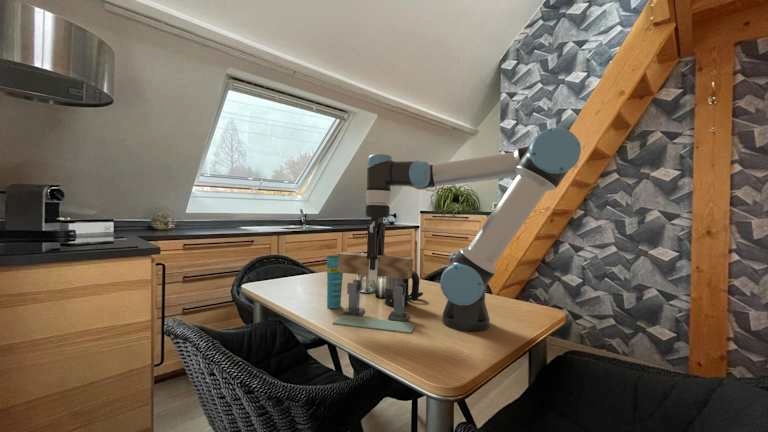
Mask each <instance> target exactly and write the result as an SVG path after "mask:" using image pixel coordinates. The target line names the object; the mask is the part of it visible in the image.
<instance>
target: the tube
mask: <svg viewBox="0 0 768 432" xmlns="http://www.w3.org/2000/svg"><path fill="white" fill-rule="evenodd" d="M338 263H339V254H335V255H326V278H327V280H326V281H327V283H326V285H327V290H326V293H327V294H326V295H327V296H326V297H327V298H326V307H327V308H328V309H340V308H341V303H342V291H343V277H344V276H343V275H344V273H339V272H338Z"/></svg>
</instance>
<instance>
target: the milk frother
mask: <svg viewBox="0 0 768 432" xmlns="http://www.w3.org/2000/svg"><path fill="white" fill-rule="evenodd" d="M409 281H410V279H403V278H392V277H385V299H384V305H386V306H389V307H394V299H393V287H397V283H403V284H406V293H405V296H404V307H406V306H408V305H409V301H412V302H416V301H417V300H418V299H419V298H420V297H422V296H423V295H424V292H423V291H422V292H421V291H420V290H419V289H420V288H419V287H420V276H419V275H418V273H417V272H415V271H414V270H412V277H411V283H412V284H411V285H412V286H411V292H410V294H409Z"/></svg>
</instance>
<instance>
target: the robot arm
mask: <svg viewBox="0 0 768 432" xmlns="http://www.w3.org/2000/svg"><path fill="white" fill-rule="evenodd" d="M581 153H582V146H581V142H580V140H579V138H578V137H577V136H576V134H574V133H573V132H571V130H568V129H567V128H562V127H553V128H548V129H545V130H543V131H541V132H539V133H538V134H537V135H535V137H534V138H533V139H532V140H531V142H530V145H527V146H523V147H518V148H516V149H514V151H513V152H507V153H502V154H501V153H500V154H495V155H488V156H486V155H485V156H481V157H475V158H474V157H473V158H467V159H466V158H465V159H461V160H453V161H447V162H442V163H441V162H440V163H434V164H430V163H429V162H428V161H420V160H415V161H414V160H413V161H411V160H409V161H394V160H393V159H392V158H393V157H392V156H391V155H390V154H384V153H383V154H381V153H374V154H371V155H369V156H368V159H367V167H366V193H365V194H364V196H365V197H366V199H365V202H366V203H367V204H366V206H365V216H366V217H369V218H370V223H369V224H368V225H367V226H366V230H367V231H366V232H367V243H366V244H367V248H366V254H367V257H366V259H369V274H368V275H367V276H368V277H367V279H368V281H375V282H376V281H378V278H382V277H381V276H378V259H377V255H386V254H384V253H385V239H386V238H385V237H386V236H385V235H386V234H385V233H386V228H387V225H386V224H385V222H384V218H390V213H391V212H390V206H389V204H391V186H392V187H410V188H414V189H416V190H420V191H421V190H422V191H423V190H426V189H428V188H436V187H437V188H438V187H443V186H444V187H445V186H452V185H453V186H454V185H460V184H467V183H468V184H469V183H476V182H484V181H491V180H492V181H493V180H498V179H499V180H500V179H507V178H508V179H509V178H514V179H513V181H512V182H511V184H510V185H509V186H508V187H507V190H506V191H505V192H504V194H503V195H502V197H501V198H500V200H499V201H498V203H496V205H495V207H494V209H493V210H492V212H491V213H490V214H489V216H488V217H487V219H486V220H485V222H484V223H483V224H482V226H481V227H480V228H479V231H478V232H477V233H476V235H475V236H474V238H473V239H472V241H471V242H470V244H469V245H468V246H467V247H461V248H459V250H458V251H457V252H451V253H450V255H449V260H448V262H449V265H448V266H447V267H446V268H445V269H443V271H442V274H441V277H440V280H439V281H440V289H441V292H442V294H443V296H444V297H445V298H446V299H447V300H446V304H445V307H444V308H443V311H442V316H441V321H442V323H443V324H444V325H445V326H447V327H449V328H452V329H454V330H455V329H456V330H460V331H466V332H468V331H469V332H480V331H481V332H482V331H485V330H488V329H489V328H490V326H491V325H490V324H491V323H490V322H491V319H490V315H489V312H488V308H487V304H486V287H487V286H488V284H489V282H491V280H492V278H493V277H494V275H495V274H496V266H495V265H496V263H497V261H498V260H499V259H500V258H501V256H502V255H503V253H504V252H505V250H506V249H507V247H508V246H509V245H510V243H511V242H512V240H513V239H514V237H515V236H516V235H517V234H518V232H519V231H520V229H521V228H522V226H523V225H524V224H525V223H526V220H528V218H529V217H530V215H531V214H532V212H533V211H534V210H535V208H536V206H537V205H538V204H539V203H540V202H541V200H542V198H544V196H545V194H546V193H547V192H550V191H555V190H556V189H557V188H558V186H559V185H560V184H561V182H562V181H563V179H564V178H565V177H566V175H567V174H568V172H570V170H572V169H573V168H574V167H575V166H576V165H577V164H578V162H579V160H580V156H581Z"/></svg>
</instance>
